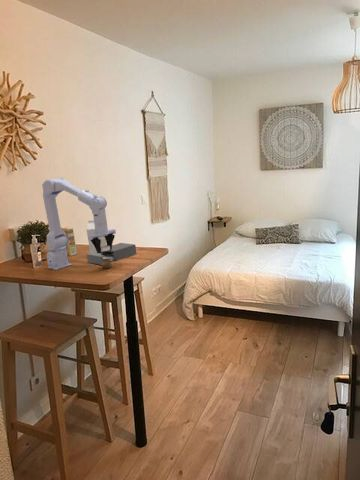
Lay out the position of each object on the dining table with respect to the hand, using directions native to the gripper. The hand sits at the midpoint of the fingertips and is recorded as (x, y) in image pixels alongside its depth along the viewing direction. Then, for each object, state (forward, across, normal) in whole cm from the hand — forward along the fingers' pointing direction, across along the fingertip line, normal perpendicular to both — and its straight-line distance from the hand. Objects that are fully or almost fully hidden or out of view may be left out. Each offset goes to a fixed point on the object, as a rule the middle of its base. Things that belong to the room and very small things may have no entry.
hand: (104, 251), depth 181 cm
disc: (-1, 0, 0) cm, 1 cm away
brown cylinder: (+8, 0, 0) cm, 8 cm away
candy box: (+8, +8, +45) cm, 46 cm away
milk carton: (+8, +15, +27) cm, 32 cm away
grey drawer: (+8, +8, +12) cm, 17 cm away
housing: (+8, +17, +12) cm, 22 cm away
